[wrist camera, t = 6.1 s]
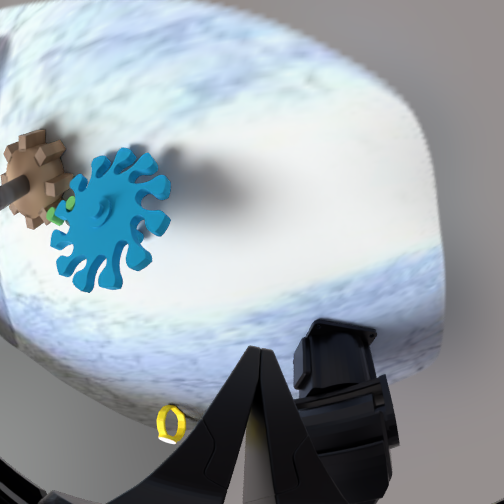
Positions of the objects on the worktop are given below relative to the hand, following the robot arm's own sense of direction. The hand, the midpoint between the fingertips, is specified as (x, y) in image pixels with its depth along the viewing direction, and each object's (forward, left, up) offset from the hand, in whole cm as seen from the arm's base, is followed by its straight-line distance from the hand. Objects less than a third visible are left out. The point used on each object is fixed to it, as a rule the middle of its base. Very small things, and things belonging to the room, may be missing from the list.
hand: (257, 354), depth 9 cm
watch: (+6, +34, -12) cm, 36 cm away
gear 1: (+21, 0, -12) cm, 24 cm away
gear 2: (+11, +1, -12) cm, 16 cm away
